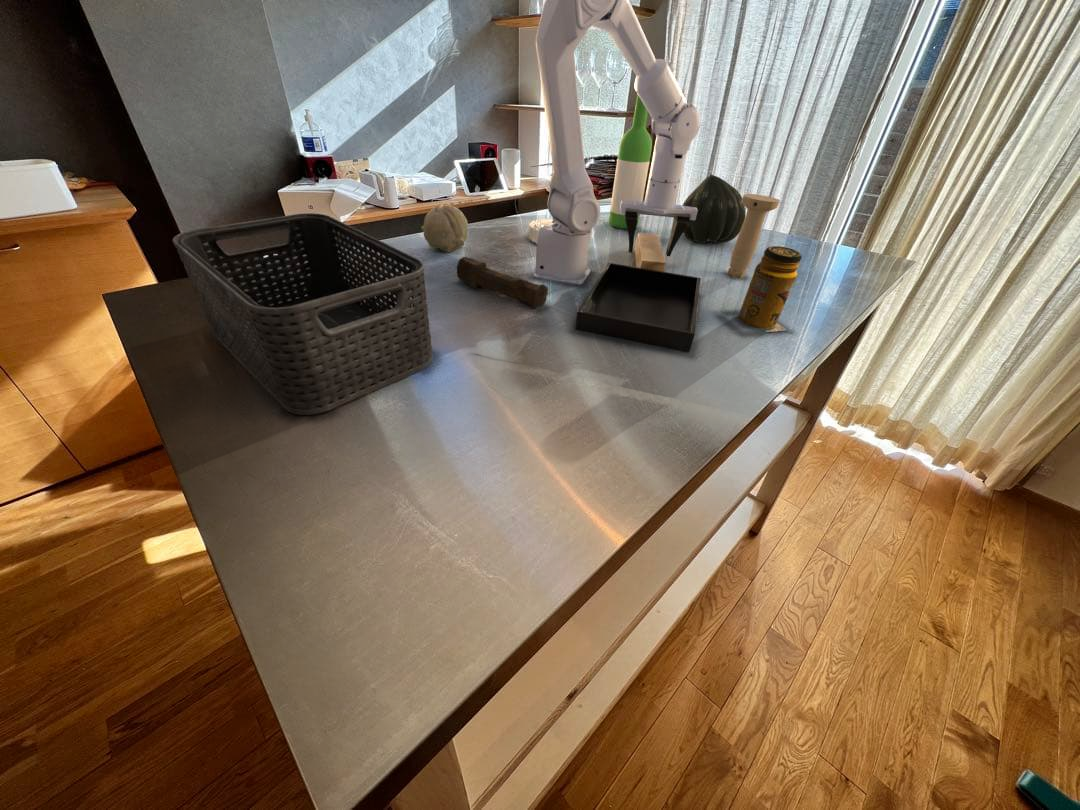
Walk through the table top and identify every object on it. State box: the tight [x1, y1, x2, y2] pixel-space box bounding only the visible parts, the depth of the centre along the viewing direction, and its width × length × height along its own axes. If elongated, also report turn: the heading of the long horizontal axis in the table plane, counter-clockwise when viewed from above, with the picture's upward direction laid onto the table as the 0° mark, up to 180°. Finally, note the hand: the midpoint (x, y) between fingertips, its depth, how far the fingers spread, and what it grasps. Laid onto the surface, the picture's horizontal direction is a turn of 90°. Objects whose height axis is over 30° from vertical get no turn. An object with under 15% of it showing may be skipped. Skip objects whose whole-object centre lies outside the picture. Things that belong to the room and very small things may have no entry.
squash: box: [682, 174, 747, 244], centre depth 107 cm, size 14×15×15 cm
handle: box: [727, 193, 781, 279], centre depth 87 cm, size 5×6×15 cm
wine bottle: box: [608, 93, 653, 230], centre depth 107 cm, size 8×8×30 cm
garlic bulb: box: [420, 204, 469, 253], centre depth 92 cm, size 9×8×10 cm
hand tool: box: [456, 256, 549, 310], centre depth 77 cm, size 19×4×5 cm, turn 53°
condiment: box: [721, 245, 803, 333], centre depth 70 cm, size 7×8×12 cm
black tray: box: [575, 262, 702, 354], centre depth 74 cm, size 17×23×3 cm
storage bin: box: [172, 212, 434, 416], centre depth 56 cm, size 29×19×13 cm
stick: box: [634, 232, 666, 272], centre depth 91 cm, size 4×18×4 cm, turn 172°
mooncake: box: [528, 217, 553, 245], centre depth 103 cm, size 12×12×4 cm
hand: (649, 253), depth 90 cm, fingers open, 7 cm apart
